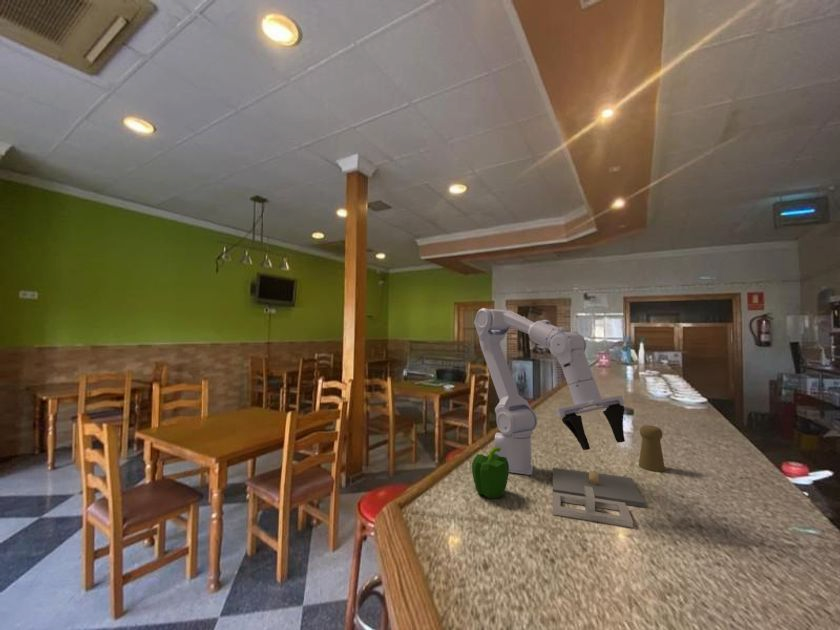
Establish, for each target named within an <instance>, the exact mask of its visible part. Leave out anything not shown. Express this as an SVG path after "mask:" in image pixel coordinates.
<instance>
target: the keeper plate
mask: <svg viewBox="0 0 840 630" xmlns="http://www.w3.org/2000/svg"><path fill="white" fill-rule="evenodd" d="M584 486H588V487H592V488H593V492H594V496H595V498H597V499H603V500H610V501H617V502H624V503H625V504H626V506H630V507H631V506H632V507H638V508H643V509H644V508H646V502H645V500H644V498H643V496H642V494H641V493H640V490H639V488H638V487H637V485H636V483H635V481H634V480H633V477H630V476H628V477H627V476H620V475H612V474H605V473H598V472H595V471H582V470H581V471H580V470H572V469H564V468H558V467H552V493H553V492H556V493H563V494H570V495H576V496H583V497H584Z"/></svg>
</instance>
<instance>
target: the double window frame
mask: <svg viewBox="0 0 840 630" xmlns="http://www.w3.org/2000/svg"><path fill="white" fill-rule="evenodd" d="M562 503H567V504H573V505H579V506H584V509H581V508H573V507H567V506H561V504H562ZM596 508H597V509H604V510H605V509H606V510H611V511H616V512H618V515H617V514H611V513H605V512H600V511H599V512H598V511H596ZM628 509H629V508H628V505H626V504H625V503H624V502H617V501H610V500H603V499H597V498H595V496H594V492H593V488H592V487H588V486H584V497H583V496H576V495H570V494H563V493H556V492H553V491H552V515H553V516H558V517H559V516H560V517H566V518H571V519H577V520H582V521H583V520H584V521H589V522H596V523H601V524H607V525H612V526H619V527H626V528H630V529H631V528H632V529H633V528H634V521H633V518H632V516H631V514H630V512H629V510H628Z"/></svg>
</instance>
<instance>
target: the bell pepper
mask: <svg viewBox="0 0 840 630" xmlns="http://www.w3.org/2000/svg"><path fill="white" fill-rule="evenodd" d="M500 450H501V448H499V447H495V448H494V447H492V449H490V451H489V454H487V455H484V454H481V453H477V454H476V455H475V457H474V458H473V460H472V462H471V473H472V478H473V483H474V486H475V491H476V492H477V493H478V494H479V495H482V494H484V495H483V496H485V497H486V498H488V499H499V498H501V497H502V496H503V494H504V493H505V490H506V489H507V483H508V480H509V476H510V475H509V473H510V472H509V465H508V461H507V458H506V457H500V456H499V455H497V454H494V453H495V452H496V451H498V452H499V451H500Z"/></svg>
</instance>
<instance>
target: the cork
mask: <svg viewBox="0 0 840 630" xmlns="http://www.w3.org/2000/svg"><path fill="white" fill-rule="evenodd" d="M639 434H640V436H641V444H640V452H639V453H640V454H639V460H638V461H639V462H638V467H639V468H641V469H643V470H646V471H650V472H657V473H661V472H666V468H665V467H666V466H665V461H664V460H665V459H664V456H663V449H662V443H661V439H662V438H663V430H662V429H661V428H660V427H658V426H654V425H648V424H647V425H642V426H641V427H640V428H639Z"/></svg>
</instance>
